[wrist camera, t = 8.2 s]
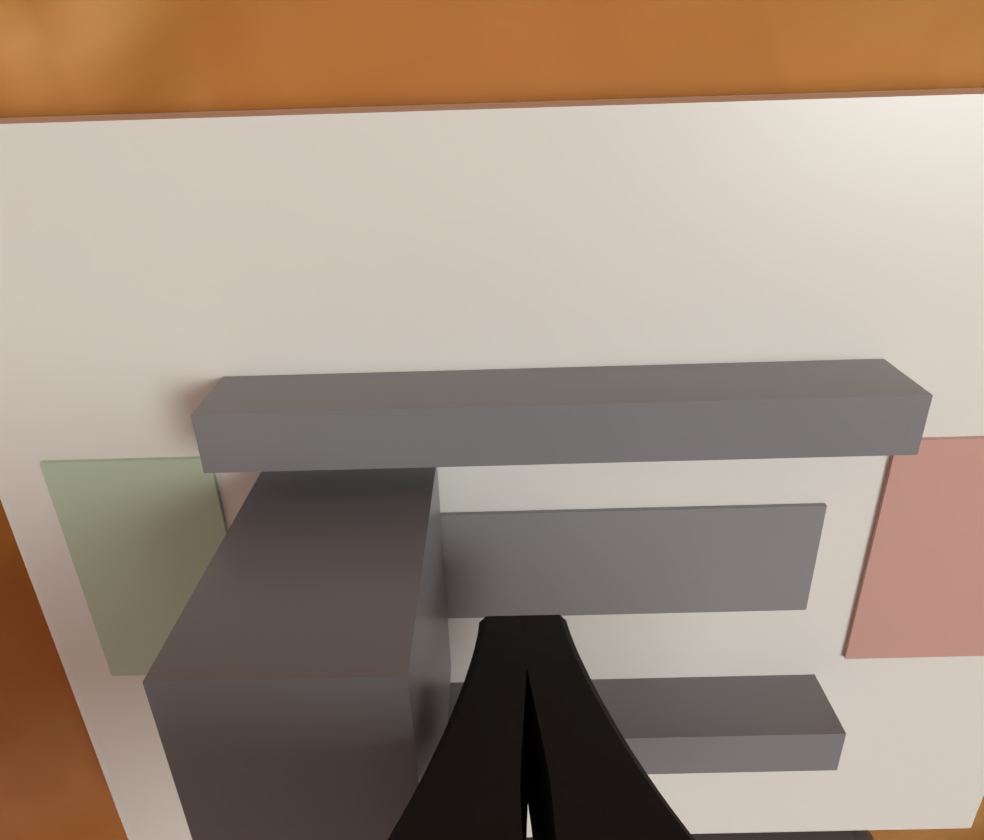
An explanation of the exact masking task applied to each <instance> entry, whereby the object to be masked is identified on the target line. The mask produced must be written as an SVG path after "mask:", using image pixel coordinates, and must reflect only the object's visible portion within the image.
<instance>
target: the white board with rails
mask: <svg viewBox="0 0 984 840" xmlns="http://www.w3.org/2000/svg"><path fill="white" fill-rule="evenodd" d="M425 467H437V472H438V486H439V500H440V515H441V529H442V543H443V558H444V572H445V586H446V601H447V615H448V629H449V644H450V658H451V679H450V694H449V710H448V721H449V719H450V716H451V714H452V711H453V709H454V706H455V704H456V701H457V699H458V696H459V694H460V691H461V689H462V686H463V683H464V680H465V677H466V674H467V671H468V668H469V665H470V662H471V659H472V655H473V652H474V648H475V644H476V639H477V635H478V628H479V622H480V621H481V620H482V619H484V618H485V617H486V616H518V615H561V616H562V617H563V618H564V619H565V620H566V621H567V625H568V628H569V631H570V633H571V636H572V639H573V641H574V644H575V646H576V649H577V651H578V653H579V655H580V658H581V660H582V662H583V664H584V666H585V668H586V670H587V672H588V674H589V676H590V678H591V680H592V682H593V684H594V686H595V688H596V690H597V692H598V694H599V696H600V697H601V699H602V701H603V703H604V704H605V706H606V708H607V710H608V712H609V713H610V715H611V717H612V719H613V720H614V722H615V724H616V726H617V727H618V729H619V731H620V732H621V734H622V736H623V737H624V739H625V740H626V742H627V744H628V745H629V747H630V749H631V750H632V752H633V753H634V755H635V756H636V758H637V759H638V761H639V762H640V764H641V765H642V767H643V768H644V770H645V772H646V773H647V775H648V776H649V777H650V779H651V780H652V782H653V783H654V785H655V786H656V788H657V789H658V791H659V792H660V793H661V795H662V796H663V798H664V799H665V800H666V802H667V803H668V804H669V806H670V807H671V809H672V810H673V811H674V813H675V814H676V815H677V816H678V818H679V819H680V820H681V822H682V823H683V824H684V826H685V827H686V828H687V830H688V831H689V832H690V834H691V835H692V836H693V837H694V839H695V840H874V838H873V837H872V835H871V833H870V832H869V831H868V830H902V829H951V828H971V826H972V824H973V821H974V819H975V816H976V814H977V811H978V809H979V806H980V803H981V801H982V798H983V796H984V87H983V88H951V89H918V90H886V91H853V92H821V93H788V94H756V95H724V96H691V97H659V98H626V99H594V100H561V101H529V102H496V103H464V104H432V105H399V106H367V107H334V108H302V109H269V110H237V111H204V112H172V113H139V114H107V115H75V116H42V117H10V118H0V500H1V502H2V505H3V508H4V510H5V513H6V516H7V518H8V521H9V524H10V526H11V529H12V532H13V534H14V537H15V540H16V542H17V545H18V548H19V550H20V553H21V556H22V558H23V561H24V564H25V566H26V569H27V571H28V574H29V577H30V579H31V582H32V585H33V587H34V590H35V593H36V595H37V598H38V601H39V603H40V606H41V609H42V611H43V614H44V617H45V619H46V622H47V625H48V627H49V630H50V633H51V635H52V638H53V641H54V643H55V646H56V649H57V651H58V654H59V657H60V659H61V662H62V665H63V667H64V670H65V673H66V675H67V678H68V681H69V683H70V686H71V689H72V691H73V694H74V696H75V699H76V702H77V704H78V707H79V710H80V712H81V715H82V718H83V720H84V723H85V726H86V728H87V731H88V734H89V736H90V739H91V742H92V744H93V747H94V750H95V752H96V755H97V758H98V760H99V763H100V766H101V768H102V771H103V774H104V776H105V779H106V782H107V784H108V787H109V790H110V792H111V795H112V798H113V800H114V803H115V806H116V808H117V811H118V814H119V816H120V819H121V821H122V824H123V827H124V829H125V832H126V835H127V837H128V840H192V837H191V834H190V831H189V827H188V824H187V821H186V818H185V815H184V812H183V809H182V805H181V802H180V799H179V796H178V793H177V790H176V787H175V783H174V780H173V777H172V774H171V771H170V768H169V764H168V761H167V758H166V755H165V752H164V749H163V746H162V742H161V739H160V736H159V733H158V730H157V727H156V724H155V720H154V717H153V714H152V711H151V708H150V705H149V701H148V698H147V695H146V692H145V689H144V686H143V683H142V682H143V680H144V679H145V677H146V675H147V673H148V672H149V670H150V668H151V666H152V664H153V663H154V661H155V659H156V657H157V656H158V654H159V652H160V650H161V648H162V647H163V645H164V643H165V641H166V640H167V638H168V636H169V634H170V633H171V631H172V629H173V627H174V625H175V624H176V622H177V620H178V618H179V617H180V615H181V613H182V611H183V609H184V608H185V606H186V604H187V602H188V601H189V599H190V597H191V595H192V594H193V592H194V590H195V588H196V586H197V585H198V583H199V581H200V579H201V578H202V576H203V574H204V572H205V570H206V569H207V567H208V565H209V563H210V562H211V560H212V558H213V556H214V554H215V553H216V551H217V549H218V547H219V546H220V544H221V542H222V540H223V539H224V537H225V535H226V533H227V531H228V530H229V528H230V526H231V524H232V523H233V521H234V519H235V517H236V515H237V514H238V512H239V510H240V508H241V507H242V505H243V503H244V501H245V500H246V498H247V496H248V494H249V492H250V491H251V489H252V487H253V485H254V484H255V482H256V480H257V478H258V476H259V475H260V473H261V472H270V471H309V470H348V469H387V468H425ZM526 840H533V837H532V829H531V822H530V815H529V807H528V812H527V837H526Z"/></svg>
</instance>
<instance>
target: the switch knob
mask: <svg viewBox="0 0 984 840" xmlns="http://www.w3.org/2000/svg"><path fill="white" fill-rule="evenodd" d="M450 679H451V658H450V644H449V629H448V615H447V601H446V586H445V572H444V558H443V543H442V529H441V515H440V500H439V486H438V472H437V467H425V468H387V469H348V470H309V471H270V472H261V473H260V475H259V476H258V478H257V480H256V482H255V484H254V485H253V487H252V489H251V491H250V492H249V494H248V496H247V498H246V500H245V501H244V503H243V505H242V507H241V508H240V510H239V512H238V514H237V515H236V517H235V519H234V521H233V523H232V524H231V526H230V528H229V530H228V531H227V533H226V535H225V537H224V539H223V540H222V542H221V544H220V546H219V547H218V549H217V551H216V553H215V554H214V556H213V558H212V560H211V562H210V563H209V565H208V567H207V569H206V570H205V572H204V574H203V576H202V578H201V579H200V581H199V583H198V585H197V586H196V588H195V590H194V592H193V594H192V595H191V597H190V599H189V601H188V602H187V604H186V606H185V608H184V609H183V611H182V613H181V615H180V617H179V618H178V620H177V622H176V624H175V625H174V627H173V629H172V631H171V633H170V634H169V636H168V638H167V640H166V641H165V643H164V645H163V647H162V648H161V650H160V652H159V654H158V656H157V657H156V659H155V661H154V663H153V664H152V666H151V668H150V670H149V672H148V673H147V675H146V677H145V679H144V680H143V682H142V683H143V686H144V689H145V692H146V695H147V698H148V701H149V705H150V708H151V711H152V714H153V717H154V720H155V724H156V727H157V730H158V733H159V736H160V739H161V742H162V746H163V749H164V752H165V755H166V758H167V761H168V764H169V768H170V771H171V774H172V777H173V780H174V783H175V787H176V790H177V793H178V796H179V799H180V802H181V805H182V809H183V812H184V815H185V818H186V821H187V824H188V827H189V831H190V834H191V837H192V840H387V839H388V838H389V836H390V834H391V833H392V831H393V829H394V827H395V826H396V824H397V822H398V821H399V819H400V817H401V815H402V814H403V812H404V810H405V808H406V807H407V805H408V803H409V801H410V799H411V798H412V796H413V794H414V792H415V790H416V788H417V786H418V784H419V782H420V781H421V779H422V777H423V775H424V773H425V771H426V769H427V766H428V764H429V762H430V760H431V758H432V756H433V754H434V752H435V750H436V748H437V745H438V743H439V741H440V739H441V737H442V735H443V733H444V731H445V728H446V726H447V724H448V710H449V694H450Z"/></svg>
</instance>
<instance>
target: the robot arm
mask: <svg viewBox="0 0 984 840" xmlns="http://www.w3.org/2000/svg"><path fill="white" fill-rule="evenodd" d="M528 807H529V815H530V822H531V829H532V837H533V840H695V839H694V837H693V836H692V835H691V834H690V832H689V831H688V830H687V828H686V827H685V826H684V824H683V823H682V822H681V820H680V819H679V818H678V816H677V815H676V814H675V813H674V811H673V810H672V809H671V807H670V806H669V804H668V803H667V802H666V800H665V799H664V798H663V796H662V795H661V793H660V792H659V791H658V789H657V788H656V786H655V785H654V783H653V782H652V780H651V779H650V777H649V776H648V775H647V773H646V772H645V770H644V768H643V767H642V765H641V764H640V762H639V761H638V759H637V758H636V756H635V755H634V753H633V752H632V750H631V749H630V747H629V745H628V744H627V742H626V740H625V739H624V737H623V736H622V734H621V732H620V731H619V729H618V727H617V726H616V724H615V722H614V720H613V719H612V717H611V715H610V713H609V712H608V710H607V708H606V706H605V704H604V703H603V701H602V699H601V697H600V696H599V694H598V692H597V690H596V688H595V686H594V684H593V682H592V680H591V678H590V676H589V674H588V672H587V670H586V668H585V666H584V664H583V662H582V660H581V658H580V655H579V653H578V651H577V649H576V646H575V644H574V641H573V639H572V636H571V633H570V631H569V628H568V625H567V621H566V620H565V619H564V618H563V617H562V616H561V615H518V616H486V617H485V618H484V619H482V620H481V621H480V622H479V628H478V635H477V639H476V644H475V648H474V652H473V655H472V659H471V662H470V665H469V668H468V671H467V674H466V677H465V680H464V683H463V686H462V689H461V691H460V694H459V696H458V699H457V701H456V704H455V706H454V709H453V711H452V714H451V716H450V719H449V721H448V724H447V726H446V728H445V731H444V733H443V735H442V737H441V739H440V741H439V743H438V745H437V748H436V750H435V752H434V754H433V756H432V758H431V760H430V762H429V764H428V766H427V769H426V771H425V773H424V775H423V777H422V779H421V781H420V782H419V784H418V786H417V788H416V790H415V792H414V794H413V796H412V798H411V799H410V801H409V803H408V805H407V807H406V808H405V810H404V812H403V814H402V815H401V817H400V819H399V821H398V822H397V824H396V826H395V827H394V829H393V831H392V833H391V834H390V836H389V838H388V839H387V840H526V837H527V812H528Z"/></svg>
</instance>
